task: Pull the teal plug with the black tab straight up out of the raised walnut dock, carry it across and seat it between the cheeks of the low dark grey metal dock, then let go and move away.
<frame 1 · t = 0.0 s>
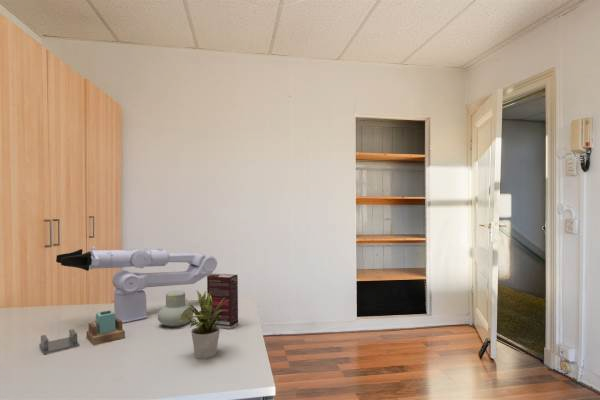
hand: (58, 260, 111), 22 cm above the table, tool horizontal, fingers open, 7 cm apart
supplement box: (222, 326, 116), on the table
air freshener: (175, 324, 119), on the table
house plant: (201, 354, 95), on the table
plug: (105, 330, 107), point 2 cm above the table, touching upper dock
lower dock: (59, 346, 101), on the table
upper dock: (105, 337, 107), on the table
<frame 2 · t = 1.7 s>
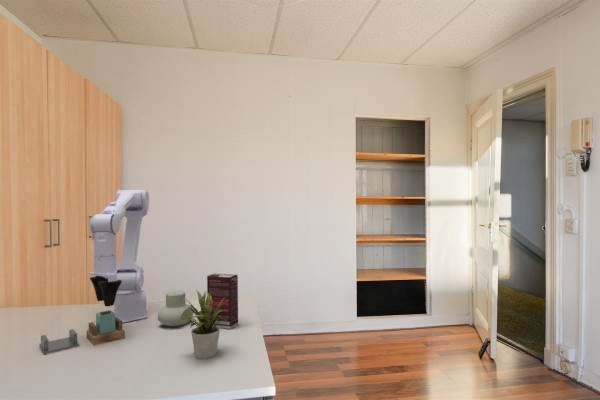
hand: (105, 303, 107), 10 cm above the table, tool pointing down, fingers open, 7 cm apart
nothing on the table moved.
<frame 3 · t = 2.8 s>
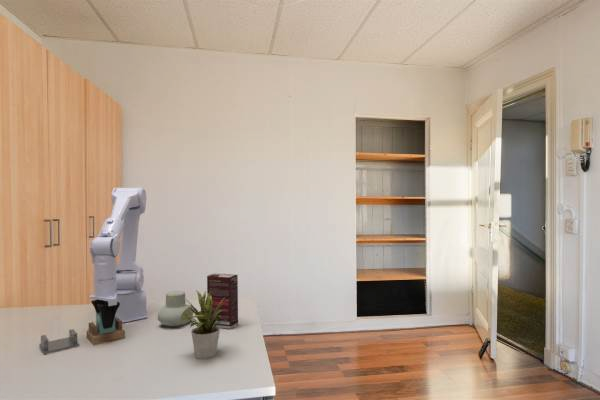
hand: (105, 325, 107), 3 cm above the table, tool pointing down, fingers closed on plug, 4 cm apart
plug: (105, 330, 107), point 2 cm above the table, touching gripper, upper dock
everything else where it was.
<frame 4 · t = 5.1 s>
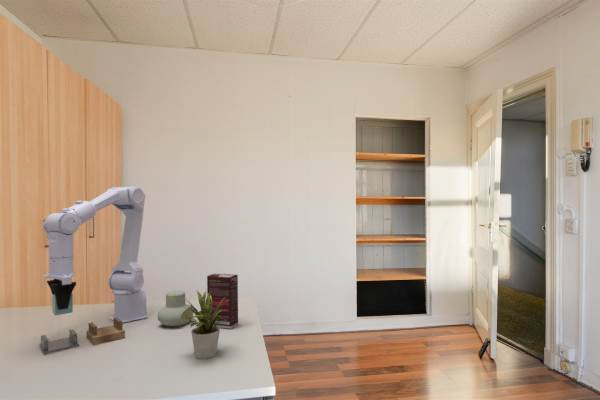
hand: (61, 307, 101), 10 cm above the table, tool pointing down, fingers closed on plug, 4 cm apart
plug: (62, 312, 101), point 9 cm above the table, touching gripper
everything else where it was.
when the fingers open (4 cm above the table, at t = 7.3 s): plug drops 1 cm, resting on lower dock.
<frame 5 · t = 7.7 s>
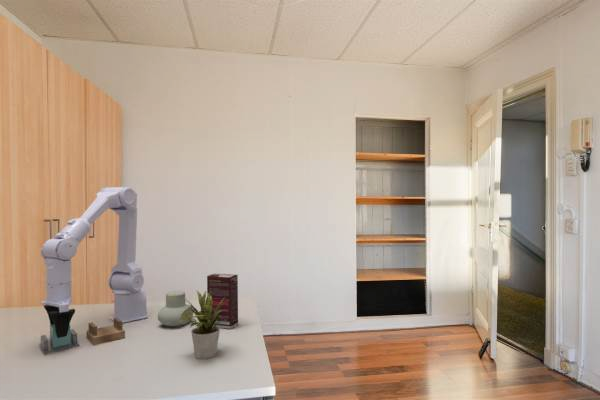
hand: (59, 333, 101), 4 cm above the table, tool pointing down, fingers open, 7 cm apart
plug: (60, 343, 101), point 1 cm above the table, touching lower dock
everything else where it was.
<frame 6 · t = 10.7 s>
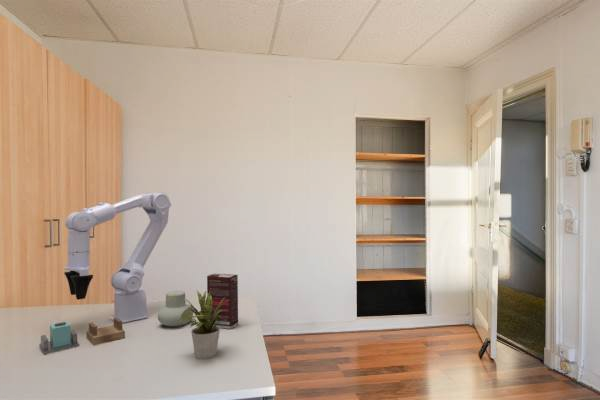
hand: (77, 296, 113), 10 cm above the table, tool pointing down, fingers open, 7 cm apart
nothing on the table moved.
at the end: plug 0.2 cm off-centre on the lower dock, point 0.6 cm above the lower dock's base; plug tilted 0°; the gripper is holding nothing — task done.
